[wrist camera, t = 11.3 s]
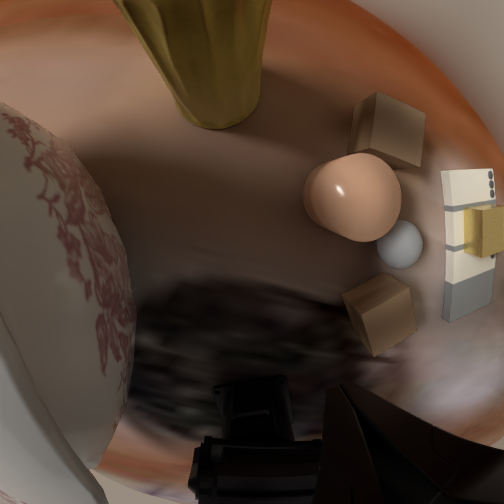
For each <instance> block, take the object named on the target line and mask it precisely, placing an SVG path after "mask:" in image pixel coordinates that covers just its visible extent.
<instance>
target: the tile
mask: <svg viewBox="0 0 504 504" xmlns="http://www.w3.org/2000/svg"><path fill="white" fill-rule="evenodd" d="M463 214H464V252H466V253H469V254H472V255H474V256H477V257H480V258H484V257H487V256H490V255H492V254H495V253H498V252H500V251H503V250H504V206H503V205H496V204H488V203H487V204H480V205H474V206H468V207H463Z"/></svg>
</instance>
